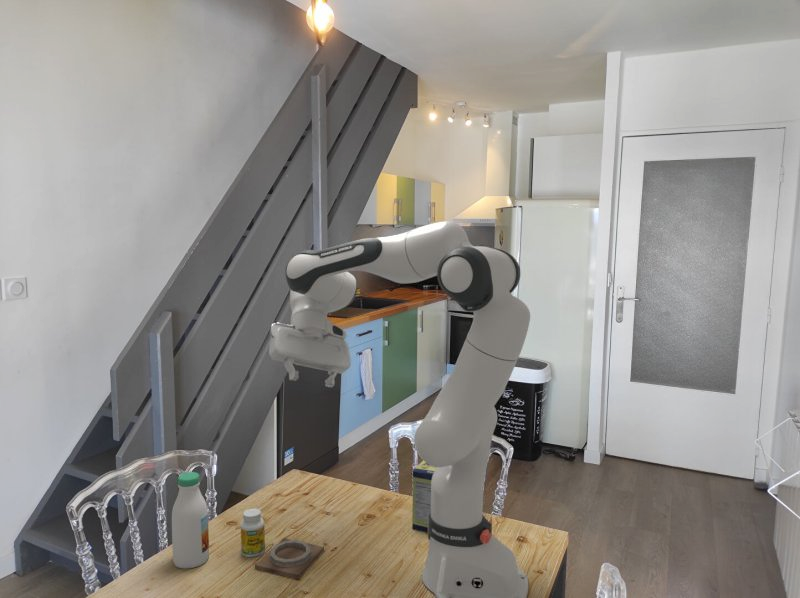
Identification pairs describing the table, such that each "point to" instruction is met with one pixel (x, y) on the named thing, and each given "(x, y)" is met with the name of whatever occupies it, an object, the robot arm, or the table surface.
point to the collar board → (290, 558)
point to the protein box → (422, 496)
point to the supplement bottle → (252, 533)
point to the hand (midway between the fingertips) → (312, 382)
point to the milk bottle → (189, 524)
